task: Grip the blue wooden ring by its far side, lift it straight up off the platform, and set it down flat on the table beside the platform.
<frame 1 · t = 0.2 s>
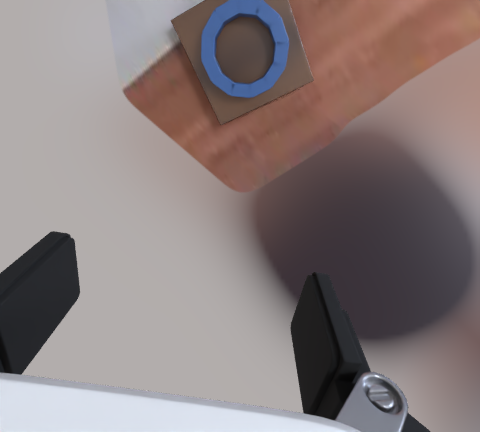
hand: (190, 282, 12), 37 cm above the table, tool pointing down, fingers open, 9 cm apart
ring: (244, 51, 38), point 3 cm above the table, touching platform
platform: (245, 52, 40), on the table
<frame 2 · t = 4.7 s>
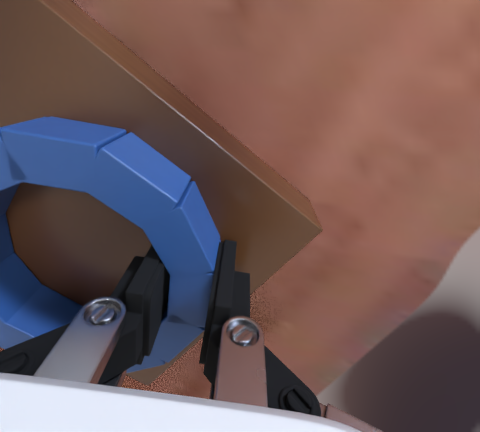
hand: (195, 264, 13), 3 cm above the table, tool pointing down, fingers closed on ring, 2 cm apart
ring: (97, 245, 13), point 3 cm above the table, touching gripper
platform: (121, 214, 15), on the table
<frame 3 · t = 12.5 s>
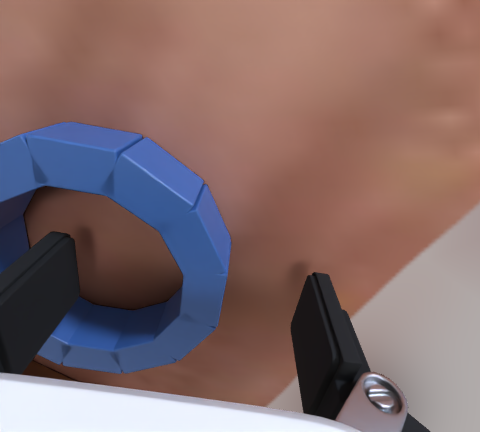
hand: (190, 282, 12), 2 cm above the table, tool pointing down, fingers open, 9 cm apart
ring: (111, 246, 13), on the table
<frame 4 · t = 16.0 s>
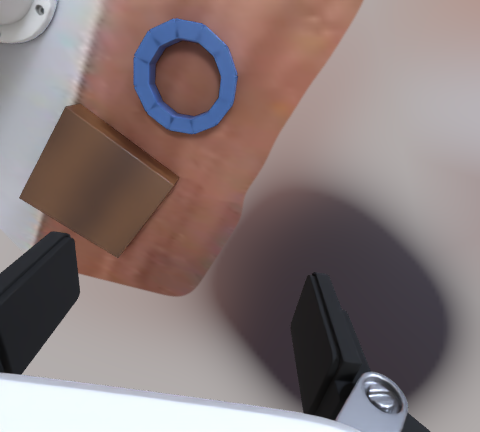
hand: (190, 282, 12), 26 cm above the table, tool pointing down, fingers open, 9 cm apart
ring: (188, 80, 32), on the table
platform: (105, 183, 38), on the table
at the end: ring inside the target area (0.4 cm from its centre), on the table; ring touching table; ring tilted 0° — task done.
